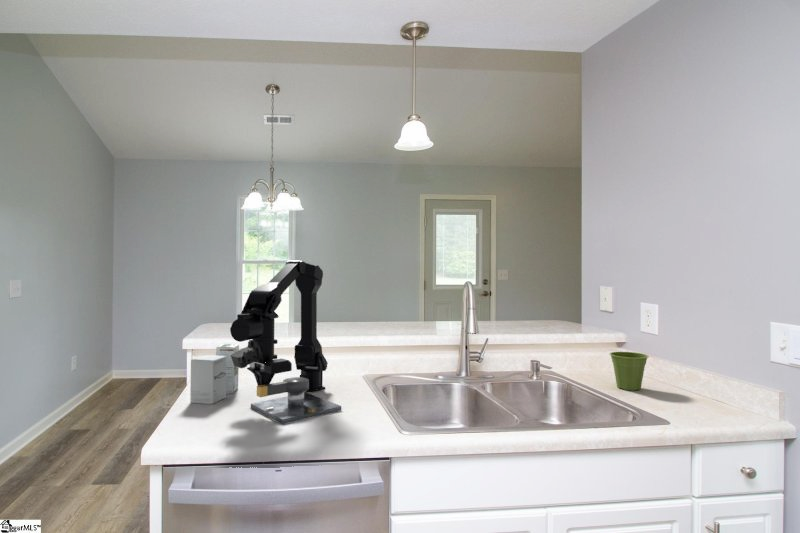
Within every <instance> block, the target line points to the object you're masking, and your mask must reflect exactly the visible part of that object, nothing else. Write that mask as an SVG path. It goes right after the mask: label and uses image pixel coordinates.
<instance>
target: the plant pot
mask: <svg viewBox="0 0 800 533" xmlns="http://www.w3.org/2000/svg"><path fill="white" fill-rule="evenodd" d="M609 355H610V356H611V362H612V364H613V370H614V377H615V384H616V387H617V388H618V389H622V390H625V391H631V392H634V391H641V389H642V384H643V379H644V378H643V377H644V371H645V366H646V364H647V361H648V358H649V354H648V355H647V353H646V354H645V353H641V352H635V351H634V352H633V351H612V352H610V353H609Z"/></svg>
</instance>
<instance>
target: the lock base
mask: <svg viewBox="0 0 800 533" xmlns="http://www.w3.org/2000/svg"><path fill="white" fill-rule="evenodd" d="M250 409H252V410H254V411H256V412H257V413H259V414H262V415H264V416H265V417H268V418H269V419H271V420H274V421H275V422H276V423H279V424H281V425H285V424H288V423H289V424H290V423H294V422H298V421H301V420H306V419H310V418H314V417H319V416H323V415H326V414H327V415H328V414H332V413H336V412H340V411H341V412H342V405H339V404H338V403H335V402H331V401H329V400H327V399H324V398H321V397H319V396H316V395H315V394H311V393H309V392H305V391H304V392H298V393H289V392H287V396H284V397H278V398H271V399H269V400H268V399H267V400H263V401H262V400H261V401H257V402H252V403H250Z"/></svg>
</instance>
